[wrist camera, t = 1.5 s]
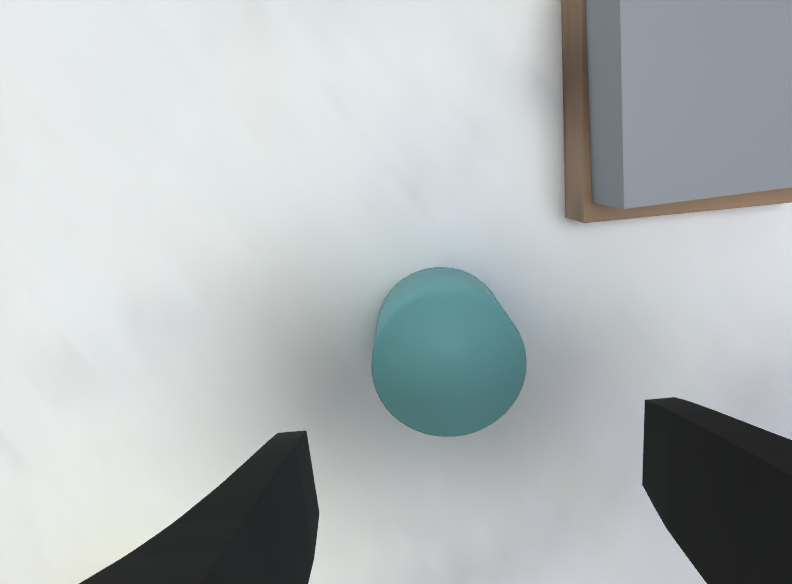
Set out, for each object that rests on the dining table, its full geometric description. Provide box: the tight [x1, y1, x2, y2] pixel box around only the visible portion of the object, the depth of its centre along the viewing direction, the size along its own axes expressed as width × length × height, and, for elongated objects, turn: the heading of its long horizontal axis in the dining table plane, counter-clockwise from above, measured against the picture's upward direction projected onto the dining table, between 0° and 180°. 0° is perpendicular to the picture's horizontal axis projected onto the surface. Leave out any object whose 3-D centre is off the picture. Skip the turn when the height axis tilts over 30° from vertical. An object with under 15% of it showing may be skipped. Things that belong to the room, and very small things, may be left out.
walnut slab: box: [561, 0, 792, 223], centre depth 17 cm, size 8×8×2 cm
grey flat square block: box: [585, 0, 792, 209], centre depth 15 cm, size 7×7×2 cm
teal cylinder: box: [372, 267, 526, 437], centre depth 18 cm, size 5×5×4 cm
